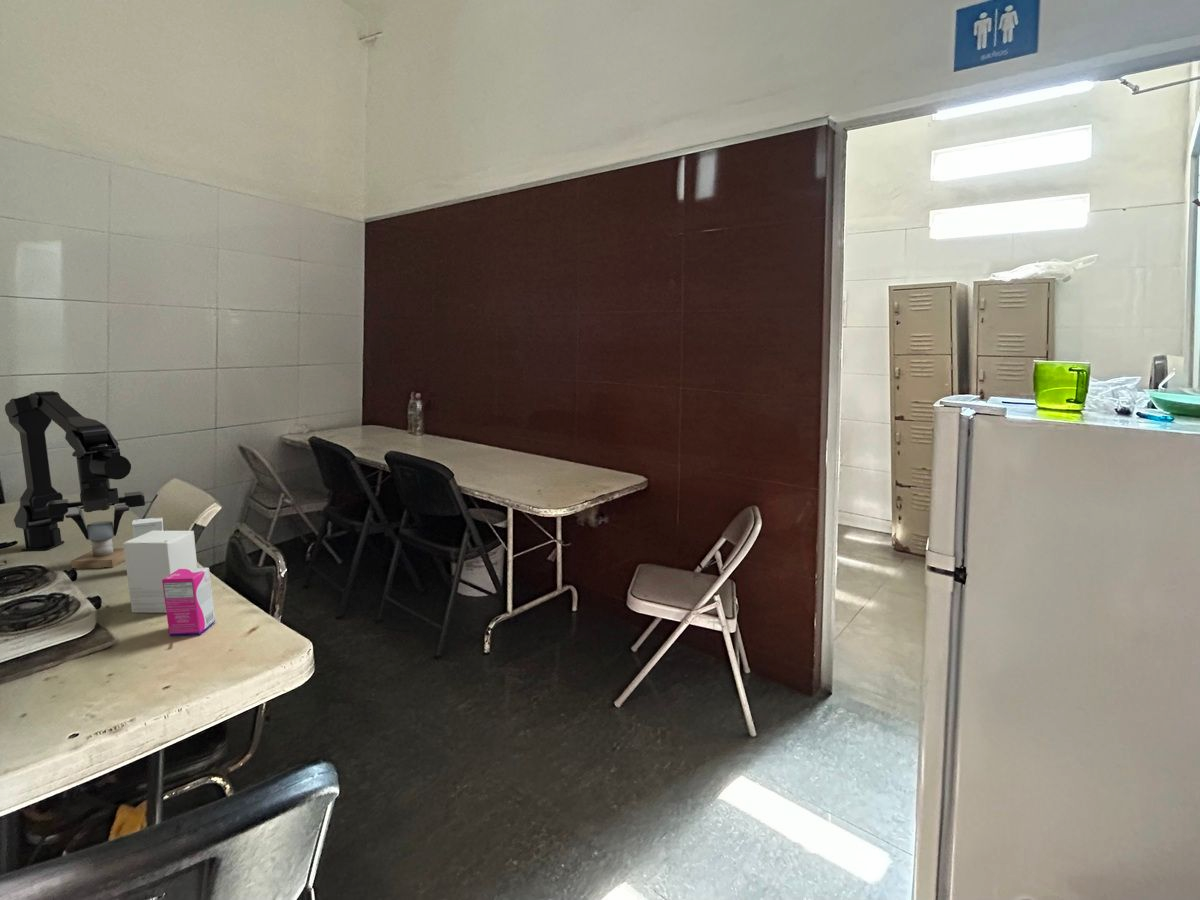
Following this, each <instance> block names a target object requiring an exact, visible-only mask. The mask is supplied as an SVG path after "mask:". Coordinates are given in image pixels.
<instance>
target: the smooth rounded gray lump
mask: <svg viewBox="0 0 1200 900" xmlns="http://www.w3.org/2000/svg"><path fill="white" fill-rule="evenodd" d="M113 524H114V521H111V520H102V521H94V522H91V523H88V524H86V526H87V532H88V538H89V539H88V541H98V540H105V539H109V538H112V539H113V537H115V536H114V532H113Z"/></svg>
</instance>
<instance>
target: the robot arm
mask: <svg viewBox="0 0 1200 900" xmlns="http://www.w3.org/2000/svg"><path fill="white" fill-rule="evenodd" d="M4 406H5V407H4V411H5V414H6V416H7V417H8V422H9V424H10V425H11V426H13V428H14V429H15V430H17V432H18V434H19V438H20V445H21V452H22V461H23V462H22V463H23V468H24V476H25V484H26V489H25V490H24V492H23V494H22V495H21V496H20V498H19V508H18V510H17V512H16V514H15V516H14V517H13V523H14V525H15V527H16V528H19V529H21V530H22V531H23V538H24V543H25V544H24V545H25V547H21V548H20V550H21V551H46V550H47V551H48V550H51V549H53V548H55V547H57V546H60V545H62V544H64V543H65V540H62V535H61V528H60V527H59V526H58V523H59V522H65V519H69V518H70V519H71V520H73V521H74V522H75V523H76V525H77V526H78V527H79V529H80V530H81V533H82V534H83V536H84V537H85V539H86V540H88V541H89V538H88V532H87V523H86V519H85V516H84V513H92V512H97V511H108V510H110V508H111V507H112V506H113V507H114V509H113V532H114V537H116V536H117V534H118V533H117V532H118V531H119V530H118V529H119V526H120V522H121V519H122V517H123V515H124V513H125V512H127V511H128V512H129V511H130V508H136V507H143V506H146V501H145V494H144V492H142V491H132V492H124V495H123V496H119V489H118V488H117V487H116V488H115V487H112V488H111V482H110V480H118V481H119V480H122V479H125V478H126V477H127V476H128V475H129V474H130V473H131V470H132V463H130V461H129V459H128V458H127V457H125V456H123V455H121V449H120V447H119V442H118V441H117V440H116V438H115V437H114V436H113V434H112V433H111V430H110V428H108V427H107V426H106V425H105V424H104V423H102V422H100V421H98V420H96V419H93V418H88V417H85V416H83V414H81V413H79V411H77V410H76V409H75V408H74V407H73V406H71V405H70V404H69V403H68V402H67V401H65V400H64V399H63V398H62V396H61V394H60V393H59V391H54V390H52V391H47V390H46V391H35V392H31V393H30V394H27V395H25V396H21V397H17V398H11V399H10V400H9V402H7V403H5V405H4ZM52 421H53V422H54V423H55V424H57V426H58V427H60V428H61V429H62V430H63V431H64V432H65V436H64V438H65V439H64V440H66V441H67V443H68V445H69V446H70V447H71V448H72V449H73V450H74V451H73V452H72V454H71V456H72V457H74V458H76V466H77V474H78V481H79V482H78V483H79V490H80V493H79V497H80V498H79V499H80V501H73V502H72V501H71V502H69V498H63V494H62V493H61V492H58V491H57V489H56V488H54V487H53V486H52V479H51V477H52V476H51V472H50V471H51V470H50V463H49V453H48V448H47V447H48V446H47V440H46V431H47V429H48V428H49V426H50V424H51V423H52ZM83 512H84V513H83Z"/></svg>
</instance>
